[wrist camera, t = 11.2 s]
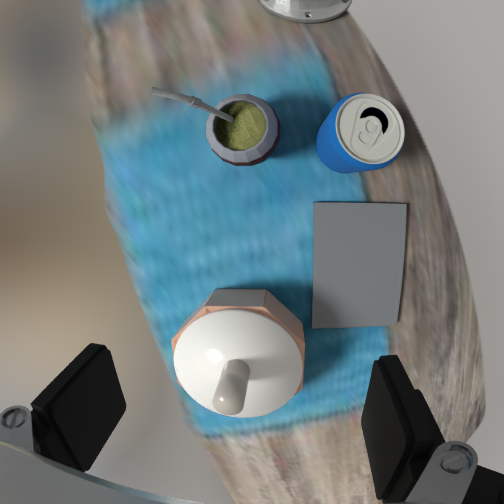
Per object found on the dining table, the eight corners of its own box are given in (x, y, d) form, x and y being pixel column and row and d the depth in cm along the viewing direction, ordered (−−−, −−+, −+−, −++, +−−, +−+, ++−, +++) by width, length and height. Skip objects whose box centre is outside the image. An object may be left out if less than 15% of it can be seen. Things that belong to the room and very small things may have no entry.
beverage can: (379, 137, 32) (421, 119, 21) (353, 184, 34) (386, 186, 22) (331, 107, 32) (354, 73, 21) (303, 153, 34) (314, 139, 22)
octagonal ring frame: (181, 288, 38) (166, 304, 33) (303, 289, 37) (306, 306, 32) (193, 385, 42) (183, 409, 36) (299, 389, 40) (300, 415, 35)
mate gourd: (290, 153, 34) (295, 133, 19) (225, 180, 35) (185, 180, 21) (263, 95, 33) (250, 40, 18) (200, 123, 34) (148, 88, 19)
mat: (313, 202, 35) (314, 202, 34) (404, 203, 34) (406, 204, 33) (311, 326, 38) (311, 328, 37) (394, 322, 37) (396, 324, 36)
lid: (168, 306, 33) (143, 333, 27) (304, 308, 32) (309, 339, 25) (184, 408, 36) (169, 444, 30) (299, 414, 35) (300, 453, 28)
